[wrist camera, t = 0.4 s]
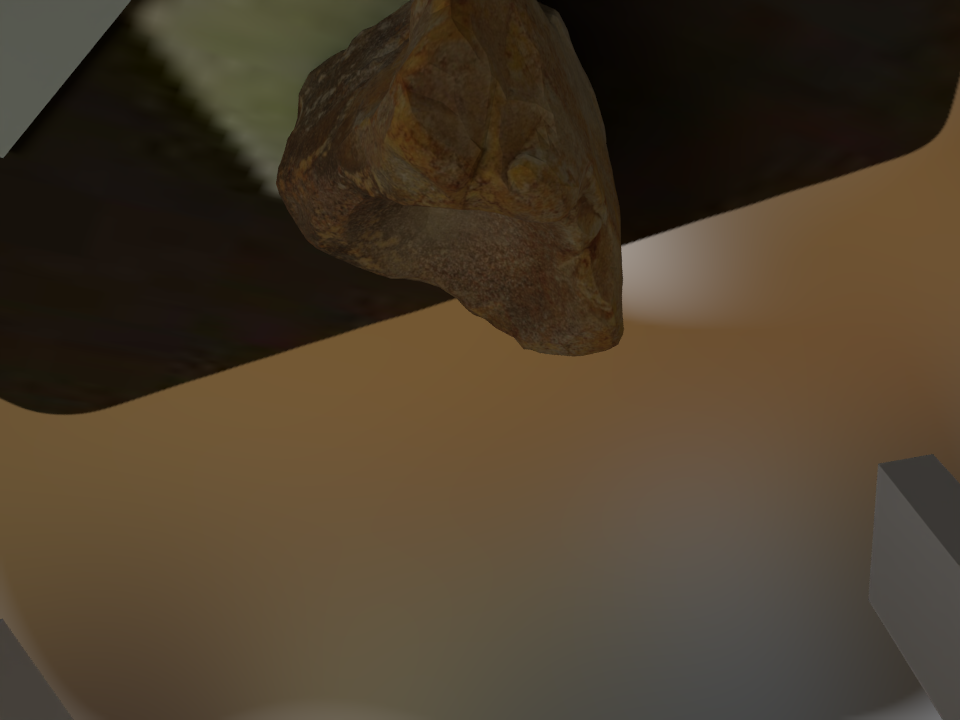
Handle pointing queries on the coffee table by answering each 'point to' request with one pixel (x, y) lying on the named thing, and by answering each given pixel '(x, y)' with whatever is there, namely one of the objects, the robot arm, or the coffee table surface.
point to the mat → (43, 53)
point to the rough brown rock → (466, 168)
